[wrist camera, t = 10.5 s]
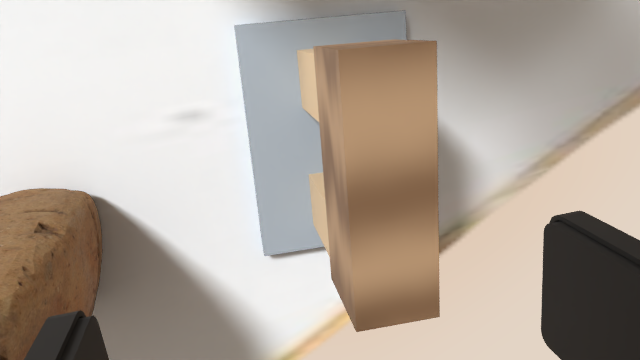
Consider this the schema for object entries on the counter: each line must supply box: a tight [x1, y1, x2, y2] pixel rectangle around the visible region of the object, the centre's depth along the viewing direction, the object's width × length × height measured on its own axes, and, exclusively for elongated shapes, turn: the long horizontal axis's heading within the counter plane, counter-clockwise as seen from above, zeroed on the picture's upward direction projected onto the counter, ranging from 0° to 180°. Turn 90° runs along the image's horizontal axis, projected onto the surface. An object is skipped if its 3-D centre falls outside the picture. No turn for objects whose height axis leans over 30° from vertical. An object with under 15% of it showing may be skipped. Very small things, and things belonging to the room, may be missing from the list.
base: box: [234, 10, 406, 256], centre depth 34 cm, size 17×12×9 cm
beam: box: [313, 39, 439, 332], centre depth 27 cm, size 14×4×6 cm, turn 5°
